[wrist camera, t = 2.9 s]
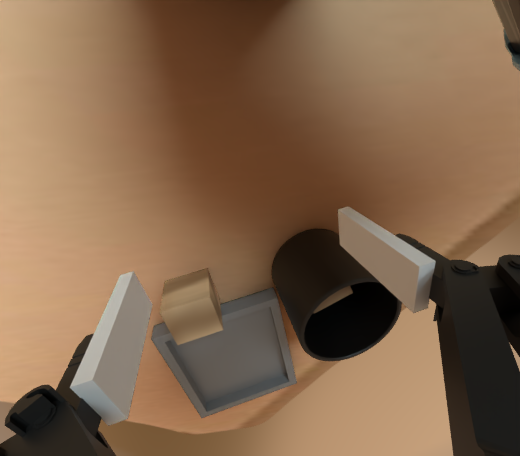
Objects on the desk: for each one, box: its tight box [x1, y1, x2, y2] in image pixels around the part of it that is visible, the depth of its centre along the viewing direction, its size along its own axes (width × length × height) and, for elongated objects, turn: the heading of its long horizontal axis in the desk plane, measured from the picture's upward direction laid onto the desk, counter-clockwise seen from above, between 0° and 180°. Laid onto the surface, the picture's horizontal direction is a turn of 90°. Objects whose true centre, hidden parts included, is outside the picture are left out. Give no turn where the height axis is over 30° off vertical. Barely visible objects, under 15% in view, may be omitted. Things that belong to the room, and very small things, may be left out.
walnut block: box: [313, 286, 353, 314], centre depth 26 cm, size 4×4×4 cm
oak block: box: [159, 268, 223, 345], centre depth 25 cm, size 4×4×4 cm
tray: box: [151, 288, 297, 418], centre depth 31 cm, size 17×14×2 cm
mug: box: [272, 229, 402, 361], centre depth 25 cm, size 9×12×9 cm
